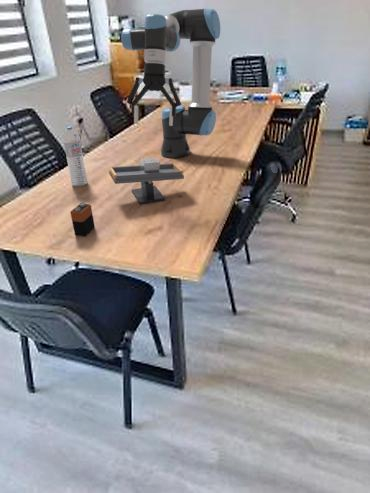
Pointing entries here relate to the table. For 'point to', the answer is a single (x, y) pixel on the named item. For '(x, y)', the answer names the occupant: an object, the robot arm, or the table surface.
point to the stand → (147, 194)
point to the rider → (149, 165)
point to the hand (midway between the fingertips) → (153, 124)
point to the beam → (145, 174)
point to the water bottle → (75, 158)
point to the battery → (82, 219)
